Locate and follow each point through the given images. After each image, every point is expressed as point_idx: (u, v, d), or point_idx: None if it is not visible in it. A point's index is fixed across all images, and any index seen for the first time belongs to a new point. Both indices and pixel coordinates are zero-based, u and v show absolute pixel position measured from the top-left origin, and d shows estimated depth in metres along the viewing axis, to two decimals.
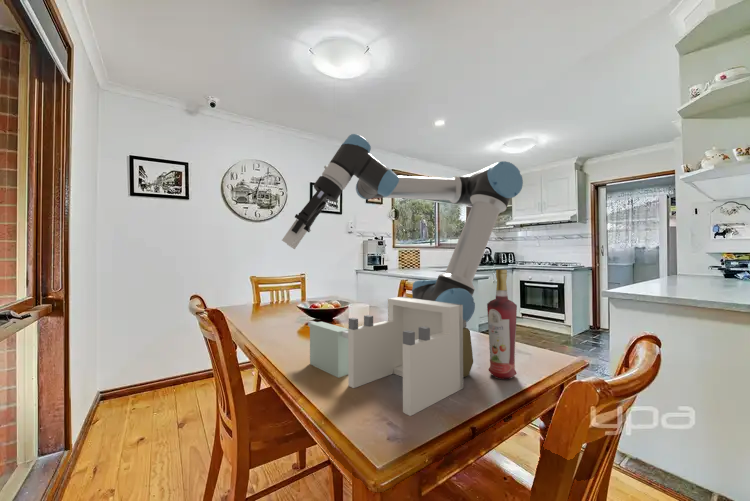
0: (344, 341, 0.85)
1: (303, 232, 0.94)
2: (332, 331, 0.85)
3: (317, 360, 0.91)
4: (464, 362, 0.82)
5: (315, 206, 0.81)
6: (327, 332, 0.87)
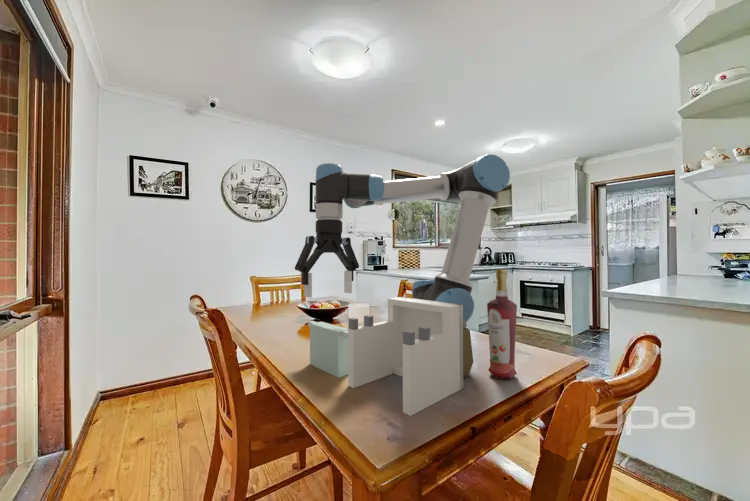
0: (344, 341, 0.85)
1: (348, 274, 0.94)
2: (332, 331, 0.85)
3: (317, 360, 0.91)
4: (464, 362, 0.82)
5: (304, 253, 0.84)
6: (327, 332, 0.87)
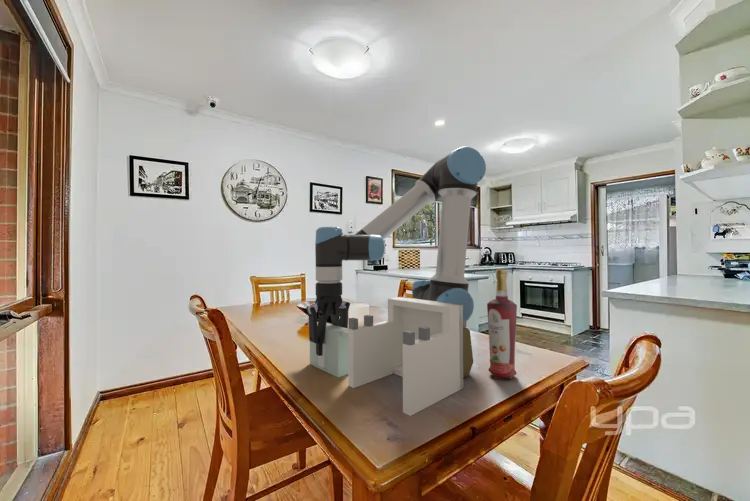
0: (343, 341, 0.85)
1: None
2: (332, 331, 0.85)
3: (317, 360, 0.91)
4: (464, 362, 0.82)
5: (312, 326, 0.85)
6: (327, 332, 0.87)
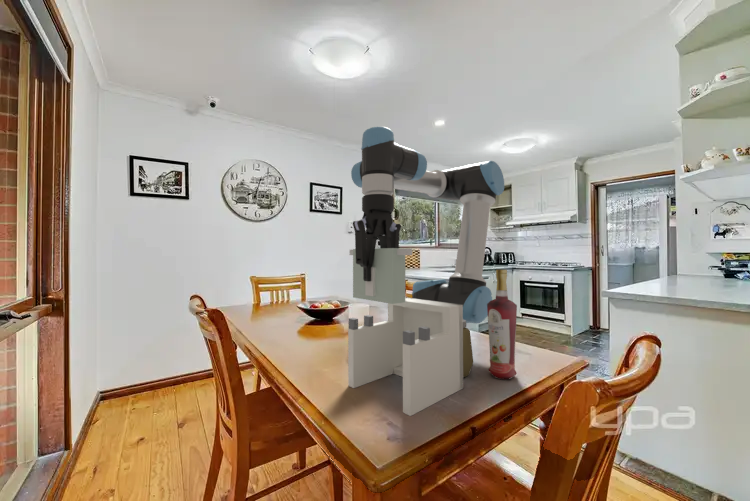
0: (398, 261, 0.70)
1: None
2: (384, 249, 0.70)
3: (363, 290, 0.76)
4: (464, 362, 0.82)
5: (360, 243, 0.71)
6: (376, 253, 0.72)
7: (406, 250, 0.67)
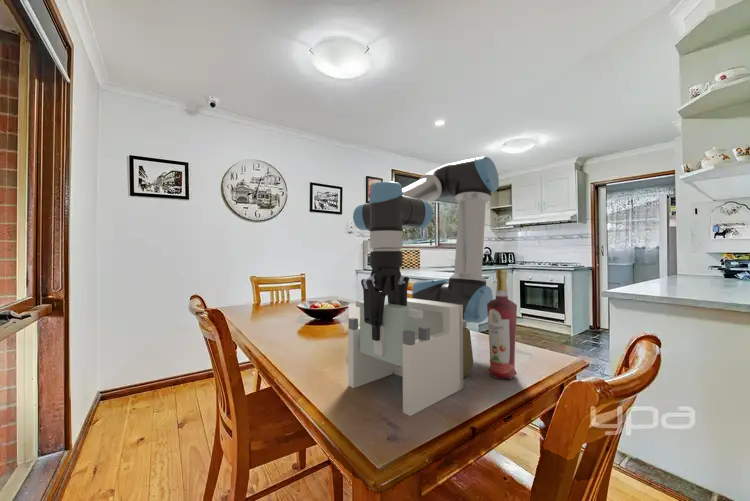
0: (409, 322, 0.68)
1: None
2: (394, 309, 0.69)
3: (371, 347, 0.74)
4: (464, 362, 0.82)
5: (369, 303, 0.69)
6: (386, 311, 0.70)
7: (417, 313, 0.65)
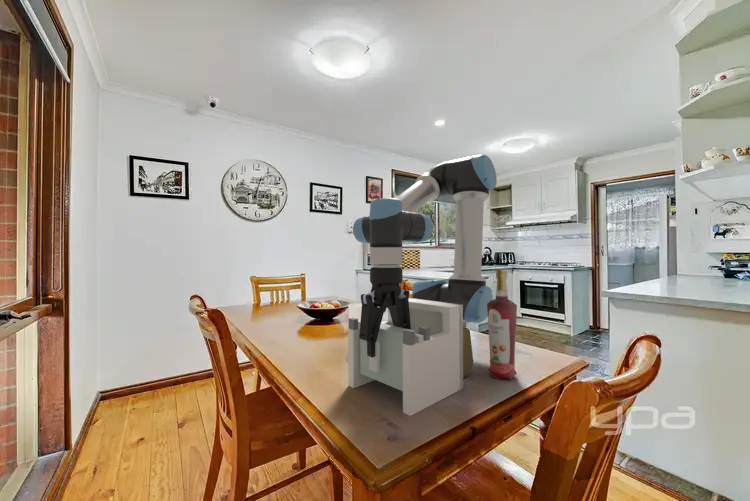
0: None
1: None
2: (394, 333, 0.69)
3: None
4: (464, 362, 0.82)
5: (367, 318, 0.68)
6: (386, 335, 0.70)
7: (417, 338, 0.65)
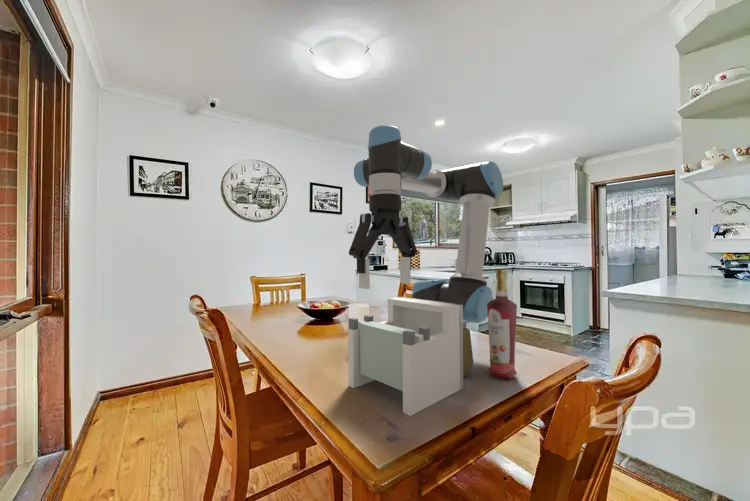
0: None
1: (406, 261, 0.78)
2: (394, 333, 0.69)
3: (372, 369, 0.74)
4: (464, 362, 0.82)
5: (361, 234, 0.68)
6: (386, 335, 0.70)
7: (417, 338, 0.65)
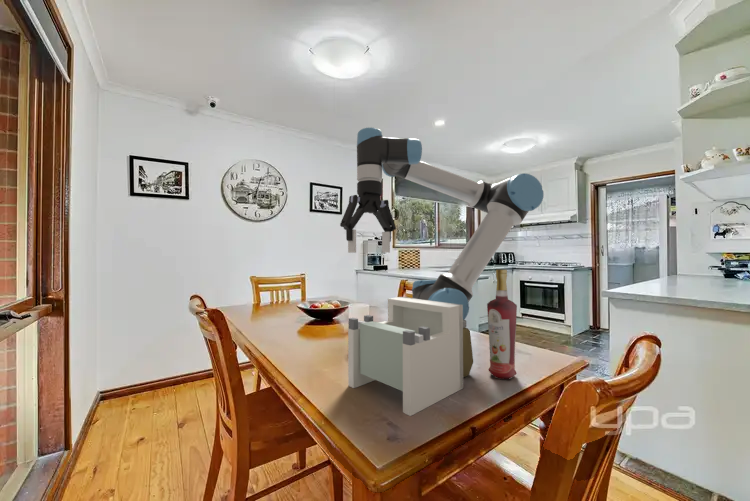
0: None
1: (386, 234, 0.99)
2: (394, 333, 0.69)
3: (372, 369, 0.74)
4: (464, 362, 0.82)
5: (349, 210, 0.89)
6: (386, 335, 0.70)
7: (417, 338, 0.65)
